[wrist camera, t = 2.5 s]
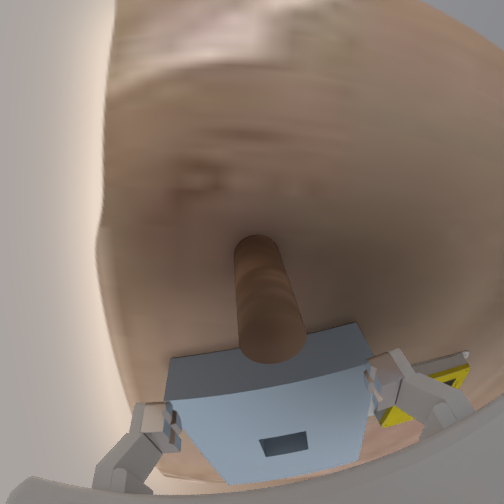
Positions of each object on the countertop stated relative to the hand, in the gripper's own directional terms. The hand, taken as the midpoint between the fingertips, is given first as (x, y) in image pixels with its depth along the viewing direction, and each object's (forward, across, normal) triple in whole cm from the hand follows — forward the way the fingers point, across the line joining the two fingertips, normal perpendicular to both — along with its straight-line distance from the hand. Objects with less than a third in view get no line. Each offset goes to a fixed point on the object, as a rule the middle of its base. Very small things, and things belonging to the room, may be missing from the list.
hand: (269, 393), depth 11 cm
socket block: (+12, 0, +19) cm, 22 cm away
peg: (+12, -1, 0) cm, 12 cm away
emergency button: (+12, -18, +23) cm, 31 cm away
